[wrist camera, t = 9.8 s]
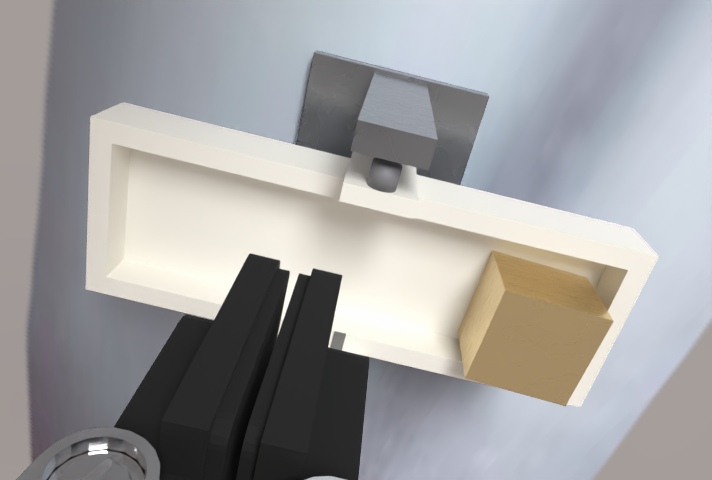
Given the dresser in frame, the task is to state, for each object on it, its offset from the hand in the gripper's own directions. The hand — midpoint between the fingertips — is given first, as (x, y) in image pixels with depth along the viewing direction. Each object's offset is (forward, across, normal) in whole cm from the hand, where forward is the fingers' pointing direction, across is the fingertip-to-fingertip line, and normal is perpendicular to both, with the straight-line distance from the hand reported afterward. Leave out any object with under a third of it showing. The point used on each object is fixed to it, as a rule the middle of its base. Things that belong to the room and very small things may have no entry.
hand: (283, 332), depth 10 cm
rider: (+17, -10, +8) cm, 21 cm away
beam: (+21, -2, +8) cm, 23 cm away
